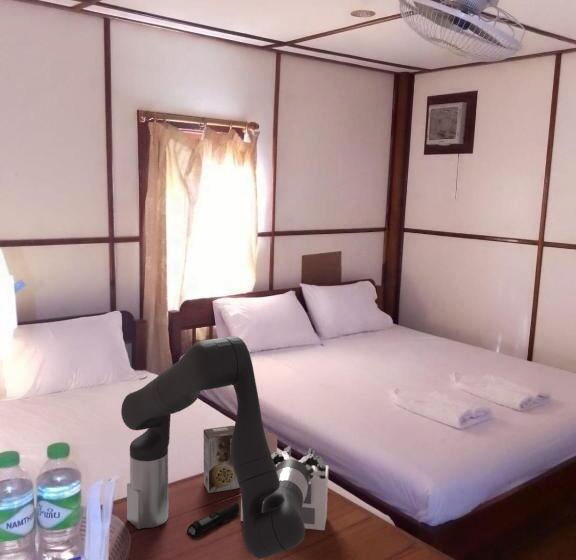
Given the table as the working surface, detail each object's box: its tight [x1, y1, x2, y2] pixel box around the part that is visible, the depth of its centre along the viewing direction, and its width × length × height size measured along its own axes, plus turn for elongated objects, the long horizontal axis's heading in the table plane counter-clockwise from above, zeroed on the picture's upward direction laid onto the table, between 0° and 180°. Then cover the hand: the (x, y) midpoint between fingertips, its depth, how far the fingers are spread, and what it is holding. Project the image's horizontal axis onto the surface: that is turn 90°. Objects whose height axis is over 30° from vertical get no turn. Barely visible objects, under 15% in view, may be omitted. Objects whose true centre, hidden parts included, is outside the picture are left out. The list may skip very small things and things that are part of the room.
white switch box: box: [240, 462, 329, 531], centre depth 152 cm, size 21×6×14 cm, turn 81°
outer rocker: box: [303, 482, 311, 504], centre depth 147 cm, size 4×1×6 cm, turn 81°
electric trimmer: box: [186, 502, 240, 539], centre depth 151 cm, size 4×16×3 cm, turn 138°
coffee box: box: [203, 425, 240, 494], centre depth 169 cm, size 9×6×16 cm
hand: (299, 451), depth 137 cm, fingers open, 4 cm apart
